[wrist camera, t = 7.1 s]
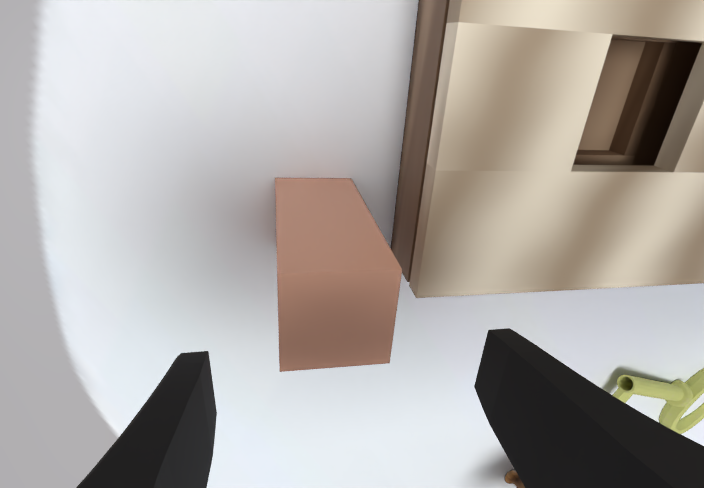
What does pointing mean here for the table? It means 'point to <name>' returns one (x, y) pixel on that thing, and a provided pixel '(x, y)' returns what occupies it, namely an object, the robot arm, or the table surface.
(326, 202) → the terracotta rectangular block
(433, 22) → the wooden box
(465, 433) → the table surface
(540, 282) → the lid
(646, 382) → the key
